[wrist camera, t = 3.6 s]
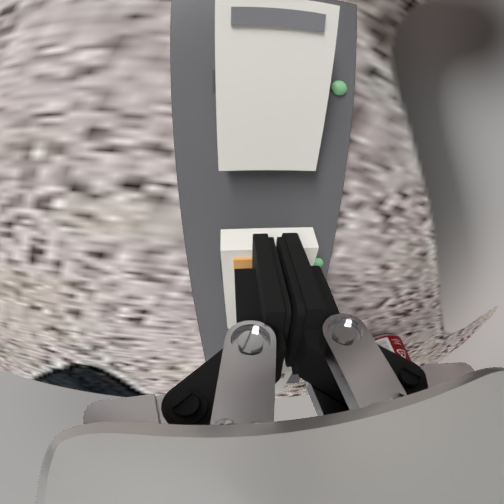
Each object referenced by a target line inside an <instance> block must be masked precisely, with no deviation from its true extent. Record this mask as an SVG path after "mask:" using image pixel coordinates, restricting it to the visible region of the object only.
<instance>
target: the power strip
mask: <svg viewBox="0 0 504 504" xmlns="http://www.w3.org/2000/svg"><path fill="white" fill-rule="evenodd" d="M310 1H317V2H323V3H328V4H333V5H338V6H340V11H339V21H338V30H337V38H336V47H335V54H334V62H333V69H332V76H331V83H330V90H329V97H328V103H327V109H326V116H325V122H324V127H323V133H322V139H321V145H320V150H319V156H318V161H317V166H316V171H297V170H239V171H219V169H218V146H217V119H216V81H215V0H171V26H170V64H171V98H172V118H173V134H174V147H175V160H176V171H177V181H178V191H179V200H180V209H181V217H182V225H183V233H184V240H185V248H186V254H187V261H188V268H189V274H190V280H191V287H192V293H193V298H194V304H195V310H196V315H197V321H198V326H199V331H200V336H201V341H202V346H203V351H204V356H205V360H206V361H208V360H209V359H210V358H211V357H213V356H214V355H215V354H216V353H218V352H219V351H220V350H221V349H222V348H223V347H224V341H225V336H226V334H227V331H228V330H229V329H228V327H227V317H226V307H225V297H224V286H223V275H222V264H221V251H220V241H221V229H250V228H294V227H313V230H314V233H315V236H316V239H317V243H318V246H319V249H318V252H317V256H316V259H315V262H314V265H313V266H315V265H318V266H320V268H321V269H322V272H323V274H324V276H325V279H326V276H327V272H328V267H329V262H330V257H331V253H332V248H333V243H334V237H335V232H336V227H337V221H338V215H339V210H340V204H341V198H342V191H343V185H344V178H345V171H346V164H347V156H348V148H349V140H350V131H351V121H352V110H353V98H354V85H355V68H356V40H357V5H355V4H351V3H347V2H343V1H338V0H310ZM299 379H300V377H299V375H298V374H295V375H293V374H291V376H290V377H289V379H288V381H287V383H296V382H299ZM287 383H286V384H287Z"/></svg>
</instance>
